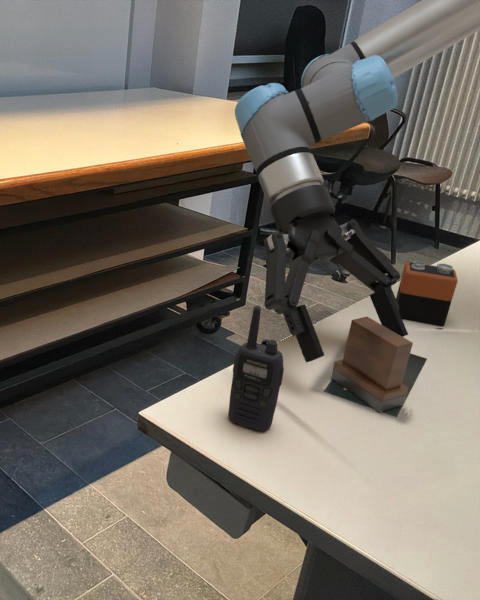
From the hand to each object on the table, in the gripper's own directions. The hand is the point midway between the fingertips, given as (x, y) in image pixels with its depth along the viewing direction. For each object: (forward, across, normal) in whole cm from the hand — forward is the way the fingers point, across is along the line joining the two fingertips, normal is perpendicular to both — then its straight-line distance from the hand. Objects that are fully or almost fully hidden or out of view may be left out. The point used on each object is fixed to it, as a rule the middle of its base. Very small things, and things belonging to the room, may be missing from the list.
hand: (358, 348), depth 83 cm
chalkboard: (+4, -4, -4) cm, 7 cm away
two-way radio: (+5, +16, -4) cm, 17 cm away
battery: (-2, -22, -11) cm, 25 cm away
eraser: (+5, 0, -1) cm, 5 cm away
